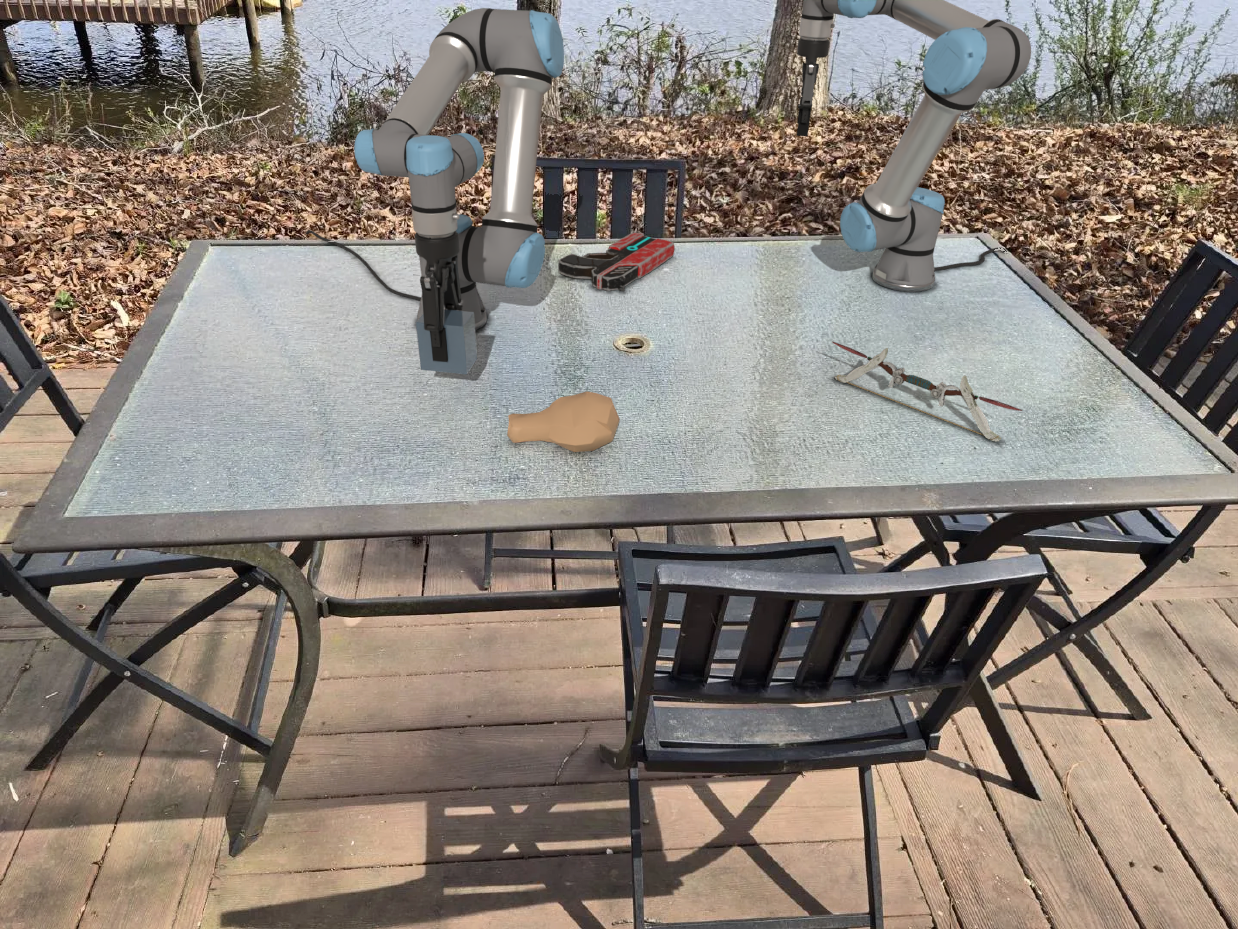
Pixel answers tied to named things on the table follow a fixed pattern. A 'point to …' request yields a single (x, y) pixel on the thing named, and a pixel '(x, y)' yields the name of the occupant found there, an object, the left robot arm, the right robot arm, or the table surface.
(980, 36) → the right robot arm
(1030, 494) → the table surface
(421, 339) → the grey rectangular block
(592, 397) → the squash
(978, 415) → the bow
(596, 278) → the gun
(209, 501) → the table surface
